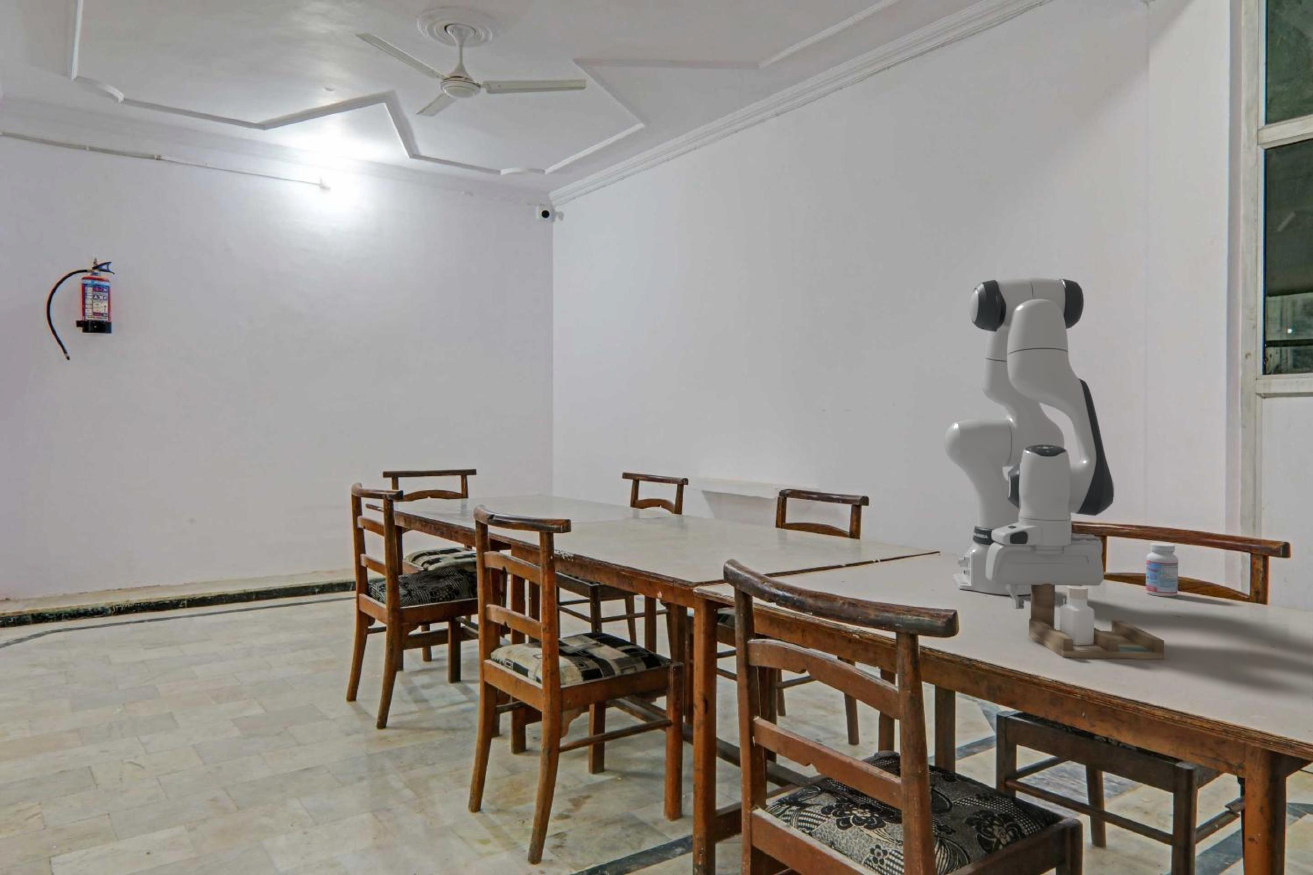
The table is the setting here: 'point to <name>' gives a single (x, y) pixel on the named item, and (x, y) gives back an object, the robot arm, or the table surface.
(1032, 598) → the dowel
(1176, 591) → the pill bottle
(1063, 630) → the pepper shaker
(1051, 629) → the rack
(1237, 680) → the table surface
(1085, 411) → the robot arm
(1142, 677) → the table surface
